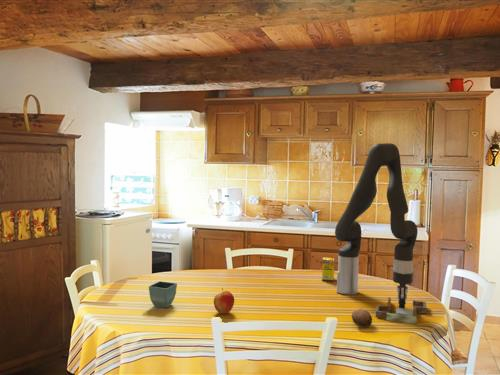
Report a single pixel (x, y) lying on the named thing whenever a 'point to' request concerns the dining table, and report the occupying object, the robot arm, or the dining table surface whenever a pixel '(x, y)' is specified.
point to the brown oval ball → (361, 318)
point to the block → (404, 311)
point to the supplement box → (328, 269)
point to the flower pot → (162, 293)
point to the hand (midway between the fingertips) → (401, 312)
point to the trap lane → (385, 313)
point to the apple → (224, 302)
